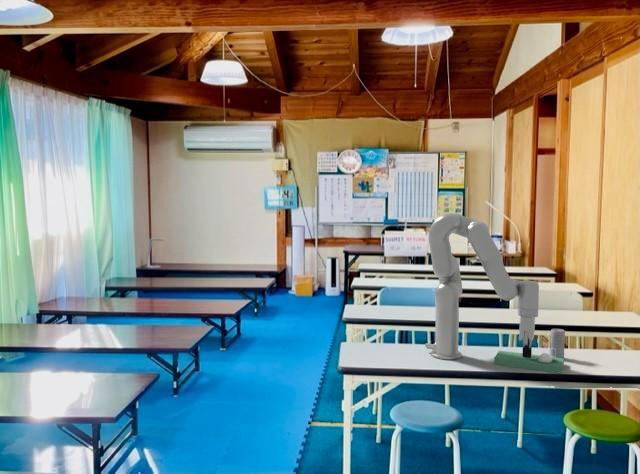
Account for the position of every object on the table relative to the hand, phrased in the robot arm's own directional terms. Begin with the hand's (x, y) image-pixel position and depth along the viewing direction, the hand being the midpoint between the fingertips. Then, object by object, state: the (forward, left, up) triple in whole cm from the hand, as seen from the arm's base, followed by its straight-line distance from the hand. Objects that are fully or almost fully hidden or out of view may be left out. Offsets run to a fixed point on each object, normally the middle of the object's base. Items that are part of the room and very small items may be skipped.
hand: (526, 357), depth 219 cm
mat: (+1, +1, -3) cm, 3 cm away
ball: (+7, +1, 0) cm, 7 cm away
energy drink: (+10, +15, -3) cm, 18 cm away
